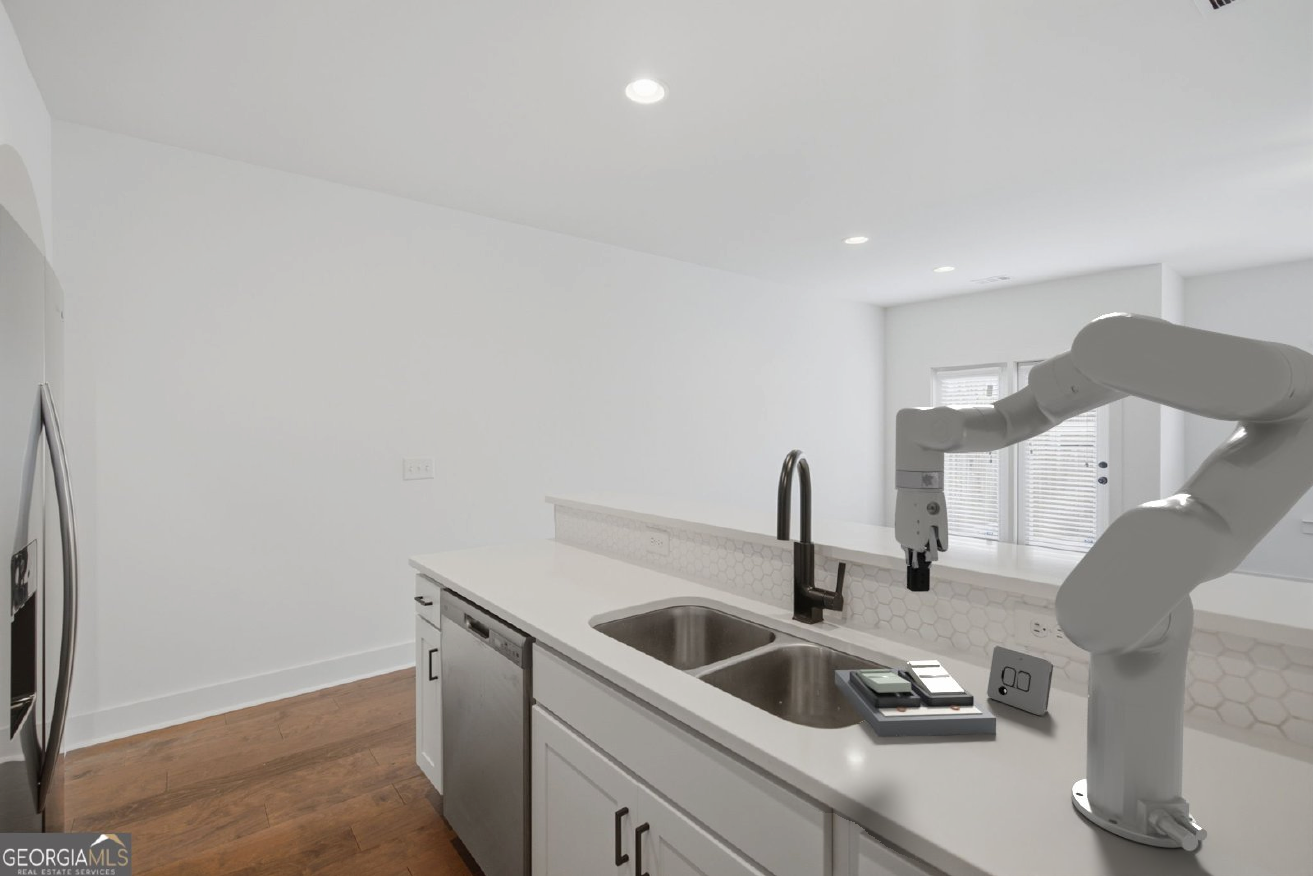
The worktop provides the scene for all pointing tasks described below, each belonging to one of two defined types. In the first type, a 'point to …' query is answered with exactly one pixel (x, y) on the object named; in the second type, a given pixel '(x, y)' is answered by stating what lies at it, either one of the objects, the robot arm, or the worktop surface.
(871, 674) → the rocker sage
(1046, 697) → the electrical switch
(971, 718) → the switch panel
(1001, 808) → the worktop surface
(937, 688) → the rocker ivory
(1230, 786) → the worktop surface
